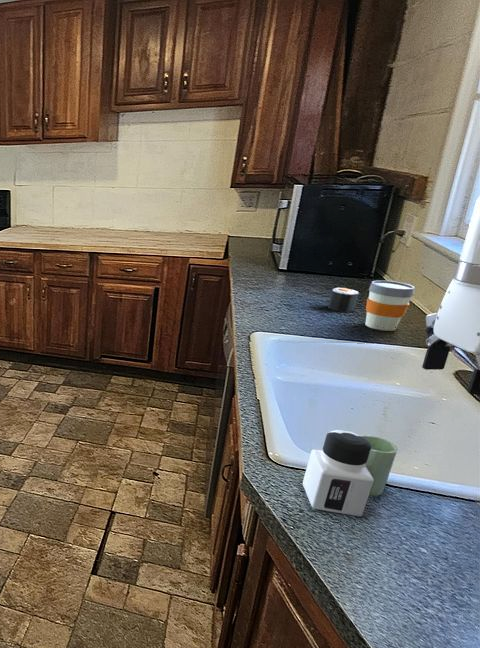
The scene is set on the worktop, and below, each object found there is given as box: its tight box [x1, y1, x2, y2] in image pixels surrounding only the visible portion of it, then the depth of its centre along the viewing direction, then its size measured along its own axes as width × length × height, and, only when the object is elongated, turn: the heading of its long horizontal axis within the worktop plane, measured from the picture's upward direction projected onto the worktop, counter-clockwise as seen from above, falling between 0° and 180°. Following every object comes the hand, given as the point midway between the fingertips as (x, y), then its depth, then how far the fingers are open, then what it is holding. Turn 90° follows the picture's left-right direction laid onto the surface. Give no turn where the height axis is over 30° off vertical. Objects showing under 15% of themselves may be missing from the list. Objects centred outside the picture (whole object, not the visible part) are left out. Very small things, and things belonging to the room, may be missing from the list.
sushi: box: [327, 286, 360, 313], centre depth 203 cm, size 8×8×8 cm
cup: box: [361, 434, 399, 497], centre depth 96 cm, size 6×6×9 cm
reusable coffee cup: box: [364, 280, 416, 332], centre depth 182 cm, size 13×13×15 cm
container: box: [302, 429, 374, 518], centre depth 91 cm, size 8×8×13 cm
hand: (454, 380), depth 84 cm, fingers open, 9 cm apart
